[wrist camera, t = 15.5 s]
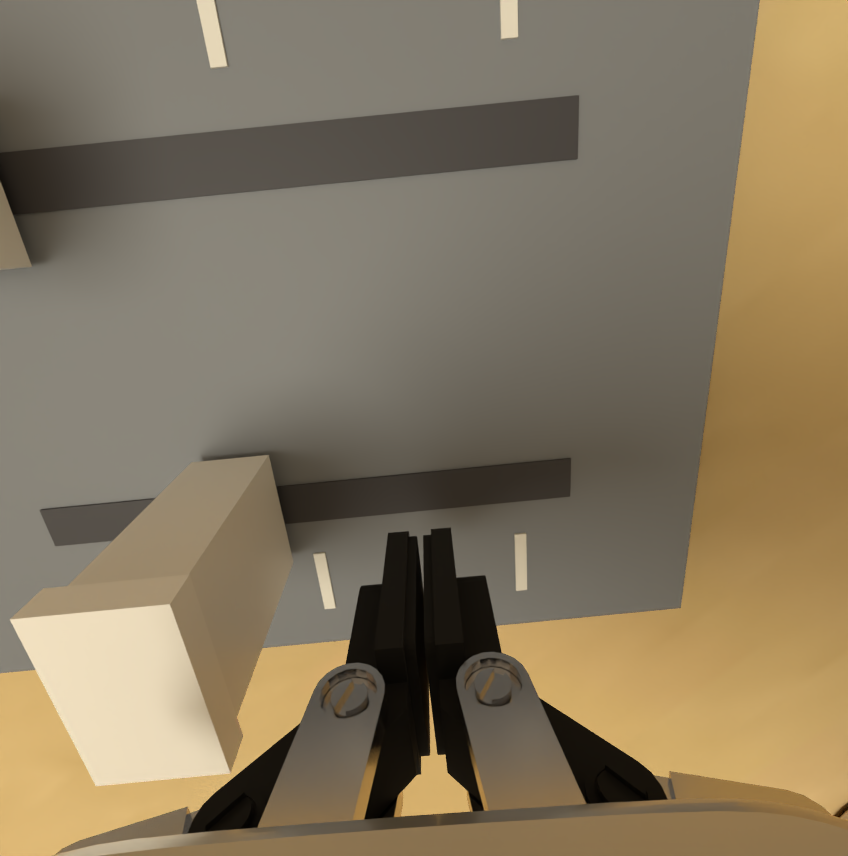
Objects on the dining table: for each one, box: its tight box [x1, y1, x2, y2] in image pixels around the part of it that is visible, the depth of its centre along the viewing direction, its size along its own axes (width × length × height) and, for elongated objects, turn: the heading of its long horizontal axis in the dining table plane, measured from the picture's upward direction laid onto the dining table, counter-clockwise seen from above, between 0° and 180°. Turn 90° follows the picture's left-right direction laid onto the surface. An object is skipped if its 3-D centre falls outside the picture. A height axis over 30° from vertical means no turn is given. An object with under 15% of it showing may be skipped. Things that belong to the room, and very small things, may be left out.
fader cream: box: [10, 455, 293, 786], centre depth 12 cm, size 3×4×7 cm, turn 5°
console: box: [0, 0, 760, 673], centre depth 15 cm, size 28×22×2 cm
